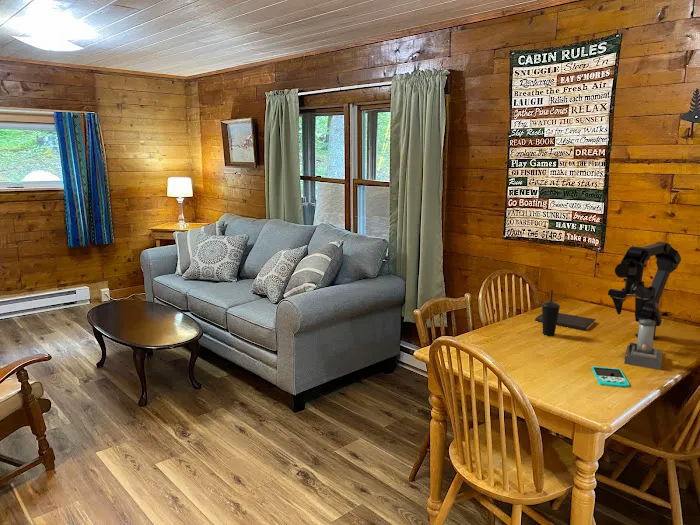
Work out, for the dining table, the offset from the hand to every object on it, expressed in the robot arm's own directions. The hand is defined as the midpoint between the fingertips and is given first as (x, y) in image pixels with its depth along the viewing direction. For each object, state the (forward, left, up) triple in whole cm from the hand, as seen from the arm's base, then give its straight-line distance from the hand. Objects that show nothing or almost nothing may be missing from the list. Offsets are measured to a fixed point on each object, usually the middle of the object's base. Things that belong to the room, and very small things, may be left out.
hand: (627, 314), depth 222 cm
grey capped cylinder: (+11, +18, -10) cm, 23 cm away
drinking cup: (+22, -21, -13) cm, 33 cm away
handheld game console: (+34, +25, -13) cm, 44 cm away
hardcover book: (+2, -33, -13) cm, 35 cm away
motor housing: (+7, +15, -13) cm, 21 cm away
